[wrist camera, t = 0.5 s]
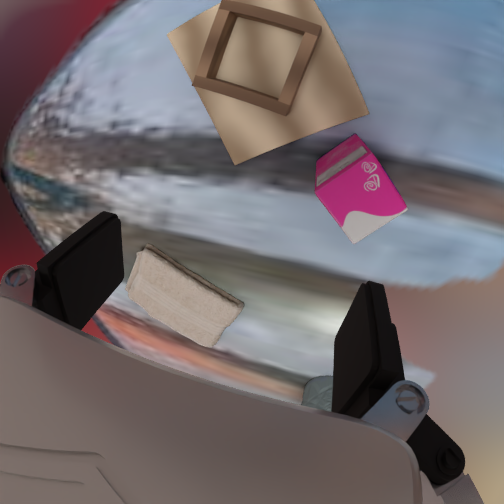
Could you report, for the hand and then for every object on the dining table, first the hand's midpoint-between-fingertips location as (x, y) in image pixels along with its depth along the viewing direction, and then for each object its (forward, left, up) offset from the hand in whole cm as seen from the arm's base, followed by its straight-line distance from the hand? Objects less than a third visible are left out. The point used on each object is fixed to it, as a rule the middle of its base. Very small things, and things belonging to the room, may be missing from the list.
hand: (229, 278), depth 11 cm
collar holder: (-1, -11, -25) cm, 28 cm away
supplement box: (-5, +4, -26) cm, 26 cm away
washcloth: (+25, +14, -26) cm, 39 cm away
